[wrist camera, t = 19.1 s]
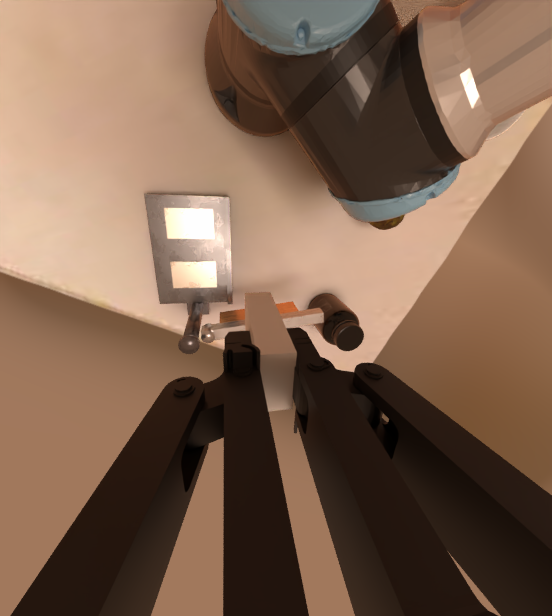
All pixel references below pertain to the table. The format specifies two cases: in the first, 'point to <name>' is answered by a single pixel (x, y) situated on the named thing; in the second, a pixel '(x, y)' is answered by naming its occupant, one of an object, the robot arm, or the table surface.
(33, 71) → the table surface
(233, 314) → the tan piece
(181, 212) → the metal plate with cutouts
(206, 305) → the post
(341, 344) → the supplement bottle
